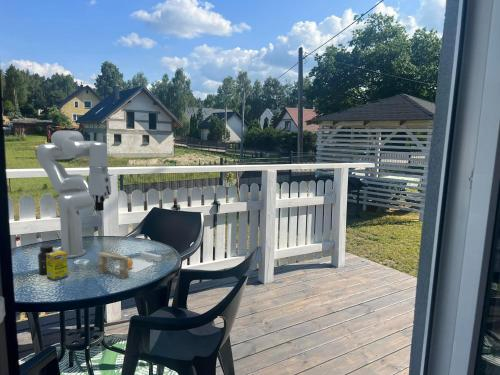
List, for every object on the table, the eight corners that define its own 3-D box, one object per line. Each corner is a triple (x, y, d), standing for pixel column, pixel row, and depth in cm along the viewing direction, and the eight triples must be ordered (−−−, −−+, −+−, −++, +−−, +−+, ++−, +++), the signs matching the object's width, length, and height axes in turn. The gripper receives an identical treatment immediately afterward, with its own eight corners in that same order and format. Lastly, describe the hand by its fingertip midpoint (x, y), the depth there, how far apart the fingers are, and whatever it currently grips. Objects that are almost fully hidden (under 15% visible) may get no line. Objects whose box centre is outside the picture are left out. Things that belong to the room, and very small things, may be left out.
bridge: (123, 279, 160) (122, 258, 158) (99, 272, 166) (98, 252, 165) (128, 276, 162) (128, 256, 161) (104, 270, 169) (103, 250, 167)
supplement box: (54, 281, 155) (53, 256, 154) (46, 278, 158) (45, 253, 157) (68, 277, 160) (67, 252, 159) (60, 273, 163) (59, 249, 162)
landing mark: (135, 272, 167) (135, 272, 167) (114, 267, 173) (114, 267, 173) (155, 264, 178) (155, 263, 178) (134, 259, 184) (134, 259, 184)
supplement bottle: (35, 275, 161) (33, 248, 159) (45, 269, 168) (43, 243, 166) (50, 276, 161) (49, 249, 159) (59, 270, 167) (58, 244, 166)
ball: (119, 268, 166) (123, 257, 167) (117, 266, 171) (122, 255, 172) (131, 272, 169) (135, 260, 170) (129, 269, 174) (133, 258, 175)
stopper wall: (159, 261, 182) (159, 256, 181) (140, 257, 187) (140, 252, 187) (161, 260, 184) (161, 255, 183) (143, 256, 189) (143, 251, 188)
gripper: (117, 170, 166) (118, 211, 169) (93, 168, 173) (94, 206, 176) (103, 172, 160) (104, 214, 162) (79, 169, 166) (81, 209, 169)
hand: (99, 210), depth 169 cm, fingers closed
